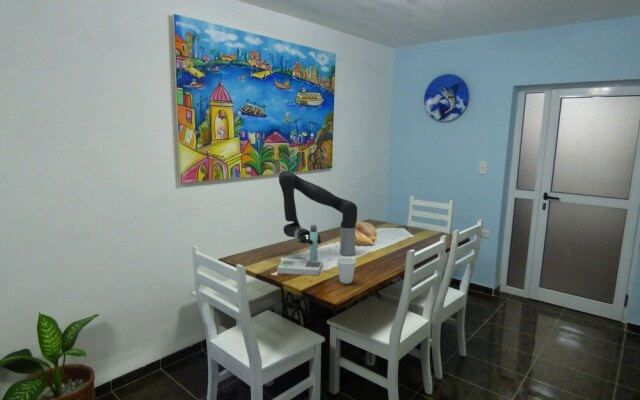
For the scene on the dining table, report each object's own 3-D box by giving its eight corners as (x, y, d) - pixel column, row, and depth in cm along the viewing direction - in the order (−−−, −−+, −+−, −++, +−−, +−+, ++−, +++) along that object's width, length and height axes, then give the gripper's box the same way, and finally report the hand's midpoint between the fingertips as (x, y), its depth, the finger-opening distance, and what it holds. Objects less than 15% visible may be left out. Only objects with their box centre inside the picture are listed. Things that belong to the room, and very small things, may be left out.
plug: (310, 258, 205) (310, 224, 202) (318, 259, 205) (317, 225, 202) (309, 261, 201) (309, 226, 198) (316, 261, 201) (316, 226, 198)
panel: (284, 263, 214) (284, 257, 214) (322, 265, 211) (322, 259, 210) (277, 273, 199) (277, 266, 198) (318, 275, 195) (318, 269, 195)
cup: (332, 279, 190) (333, 258, 188) (350, 277, 194) (351, 256, 192) (340, 286, 181) (341, 264, 179) (359, 284, 184) (359, 262, 183)
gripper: (291, 230, 210) (303, 237, 195) (314, 227, 216) (327, 234, 201) (291, 243, 212) (303, 251, 196) (314, 240, 218) (327, 247, 203)
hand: (315, 242), depth 199 cm, fingers closed on plug, 4 cm apart
